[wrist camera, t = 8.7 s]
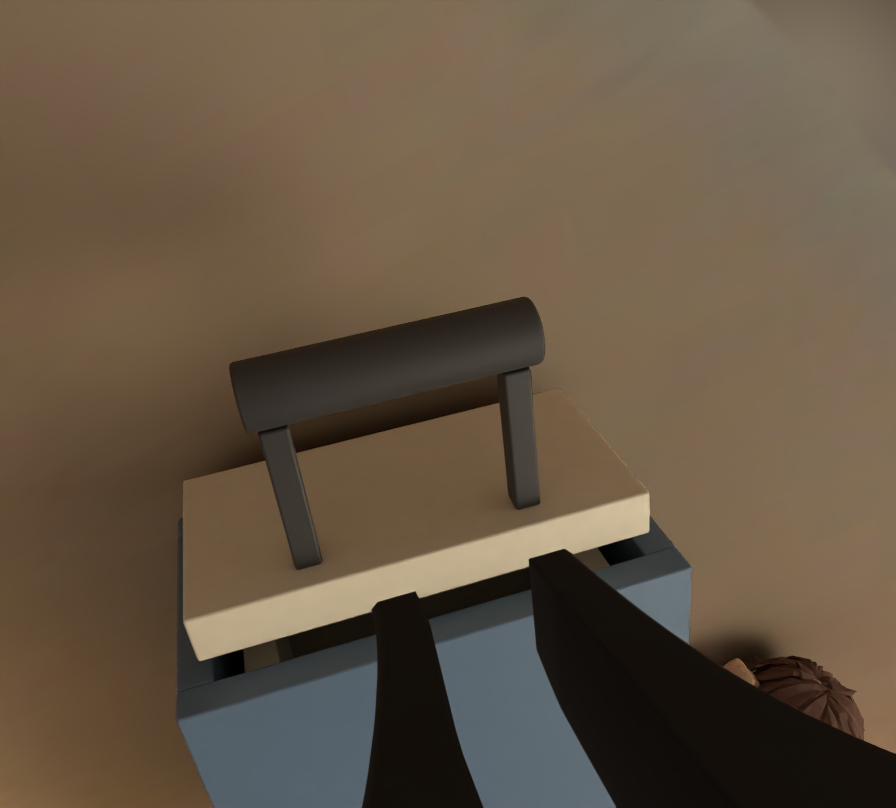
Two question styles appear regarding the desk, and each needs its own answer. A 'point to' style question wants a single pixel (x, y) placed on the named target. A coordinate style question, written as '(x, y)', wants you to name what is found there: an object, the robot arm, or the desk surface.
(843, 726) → the figurine
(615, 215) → the desk surface
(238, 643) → the drawer
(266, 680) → the compartment
